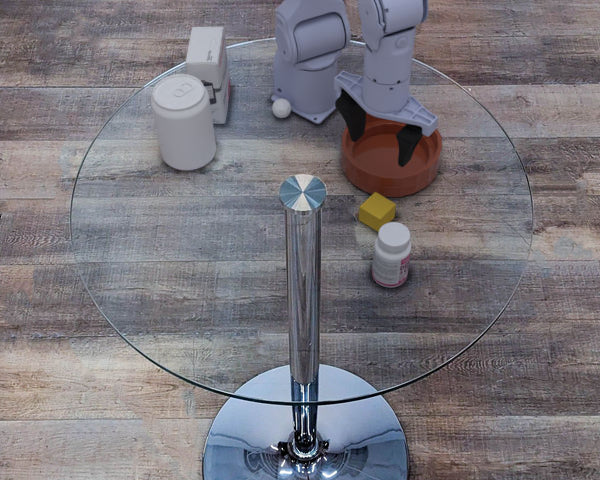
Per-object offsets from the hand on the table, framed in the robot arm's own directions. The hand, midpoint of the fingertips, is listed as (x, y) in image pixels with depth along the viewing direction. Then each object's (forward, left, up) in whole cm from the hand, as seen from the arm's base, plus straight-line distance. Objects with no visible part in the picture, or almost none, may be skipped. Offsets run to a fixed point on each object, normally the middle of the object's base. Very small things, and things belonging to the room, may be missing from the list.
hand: (380, 149), depth 117 cm
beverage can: (-27, -10, -9) cm, 30 cm away
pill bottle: (+9, -11, -9) cm, 17 cm away
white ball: (-21, +5, -9) cm, 23 cm away
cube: (+2, -4, -9) cm, 10 cm away
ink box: (-31, 0, -9) cm, 32 cm away
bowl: (-2, +6, -9) cm, 11 cm away
